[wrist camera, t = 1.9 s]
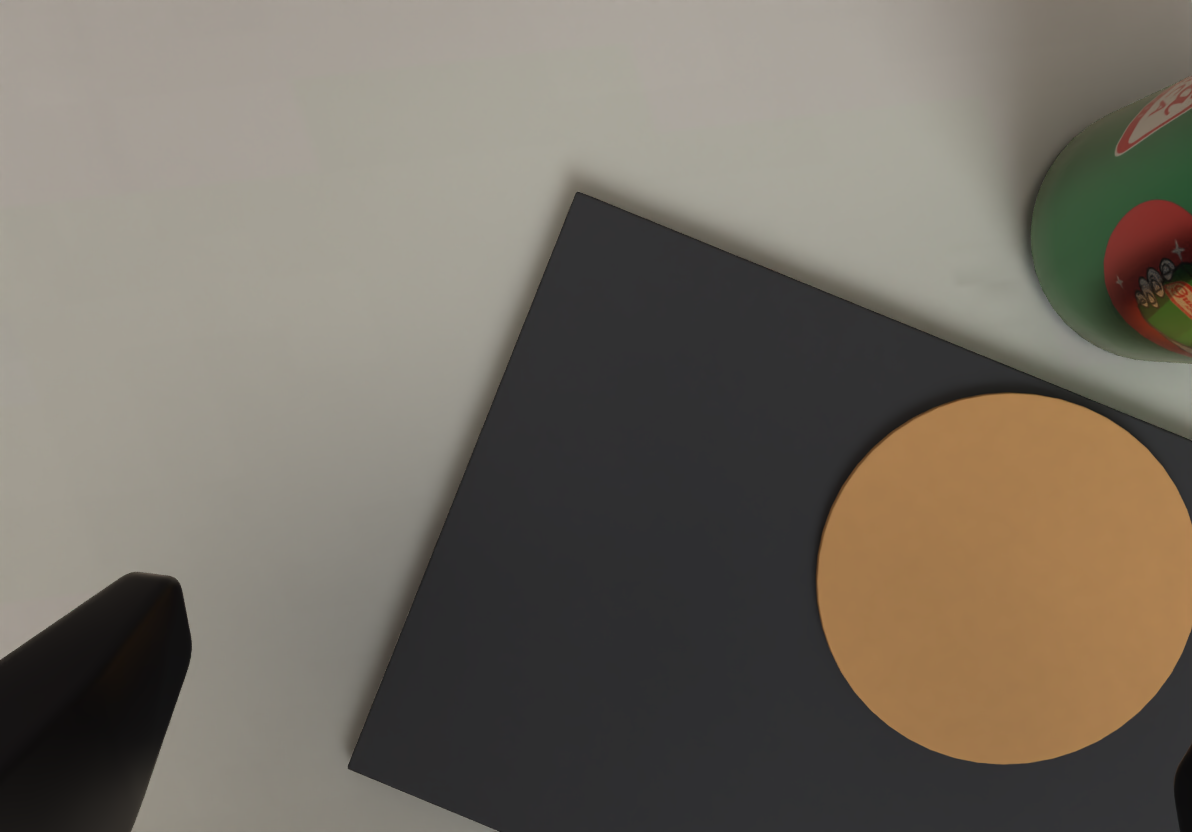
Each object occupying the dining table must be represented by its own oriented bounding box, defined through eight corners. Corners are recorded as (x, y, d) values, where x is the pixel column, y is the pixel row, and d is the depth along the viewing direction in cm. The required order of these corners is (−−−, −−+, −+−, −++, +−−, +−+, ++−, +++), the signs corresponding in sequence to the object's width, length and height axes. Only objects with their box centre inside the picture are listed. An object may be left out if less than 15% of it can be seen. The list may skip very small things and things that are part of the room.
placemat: (1306, 1156, 24) (1323, 1177, 23) (351, 762, 24) (343, 772, 24) (1582, 601, 23) (1607, 608, 22) (577, 192, 23) (575, 189, 23)
